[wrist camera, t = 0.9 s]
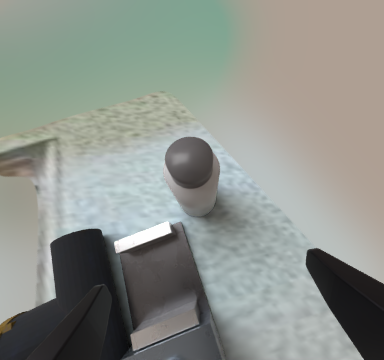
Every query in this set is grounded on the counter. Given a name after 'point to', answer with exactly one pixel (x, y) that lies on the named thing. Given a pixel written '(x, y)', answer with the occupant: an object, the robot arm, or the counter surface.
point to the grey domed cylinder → (192, 175)
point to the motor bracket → (166, 298)
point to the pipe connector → (67, 298)
